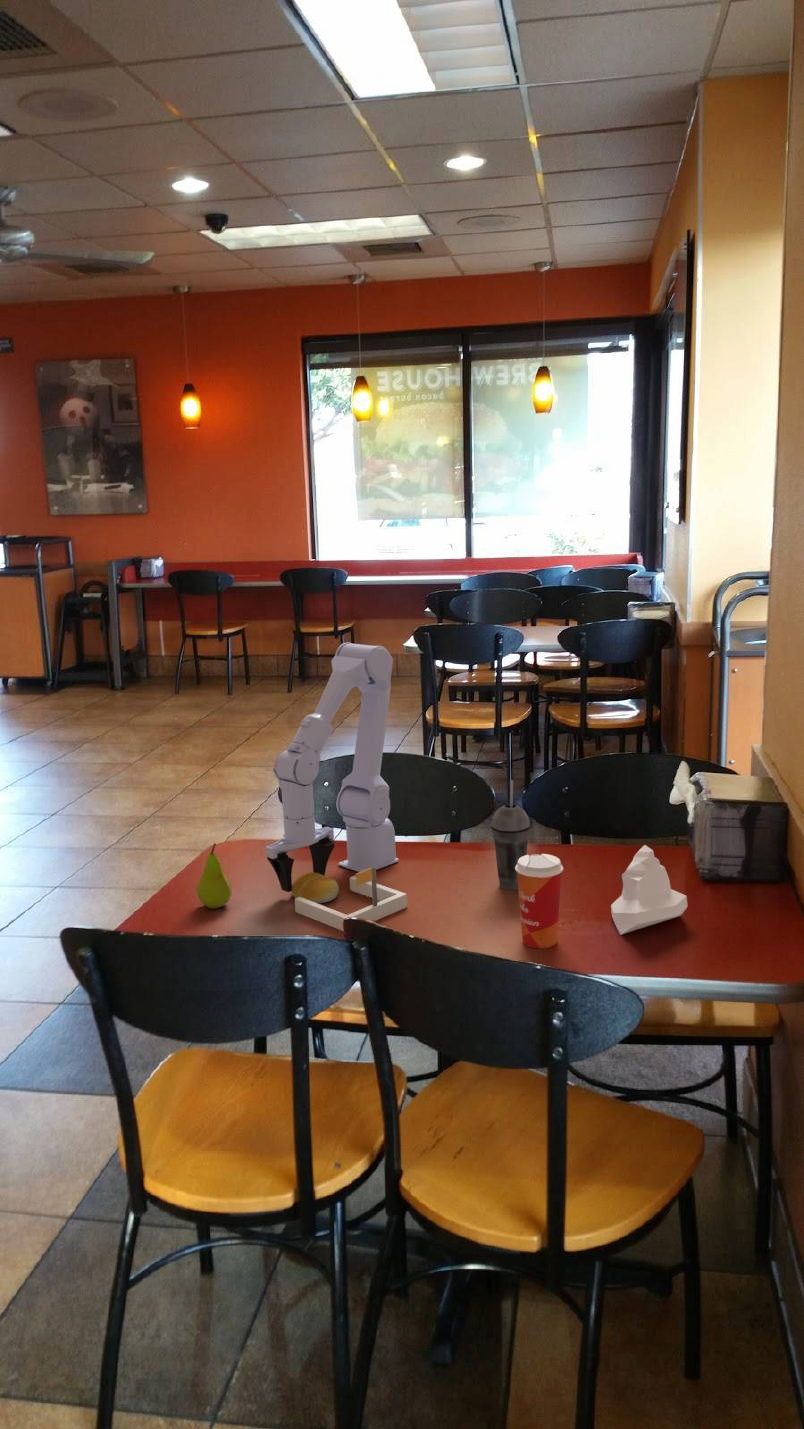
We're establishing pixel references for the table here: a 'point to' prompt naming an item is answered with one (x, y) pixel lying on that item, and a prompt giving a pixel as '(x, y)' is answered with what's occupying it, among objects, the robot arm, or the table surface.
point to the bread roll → (315, 888)
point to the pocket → (362, 885)
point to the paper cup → (539, 899)
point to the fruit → (213, 884)
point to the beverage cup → (510, 841)
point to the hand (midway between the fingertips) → (303, 884)
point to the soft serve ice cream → (646, 895)
